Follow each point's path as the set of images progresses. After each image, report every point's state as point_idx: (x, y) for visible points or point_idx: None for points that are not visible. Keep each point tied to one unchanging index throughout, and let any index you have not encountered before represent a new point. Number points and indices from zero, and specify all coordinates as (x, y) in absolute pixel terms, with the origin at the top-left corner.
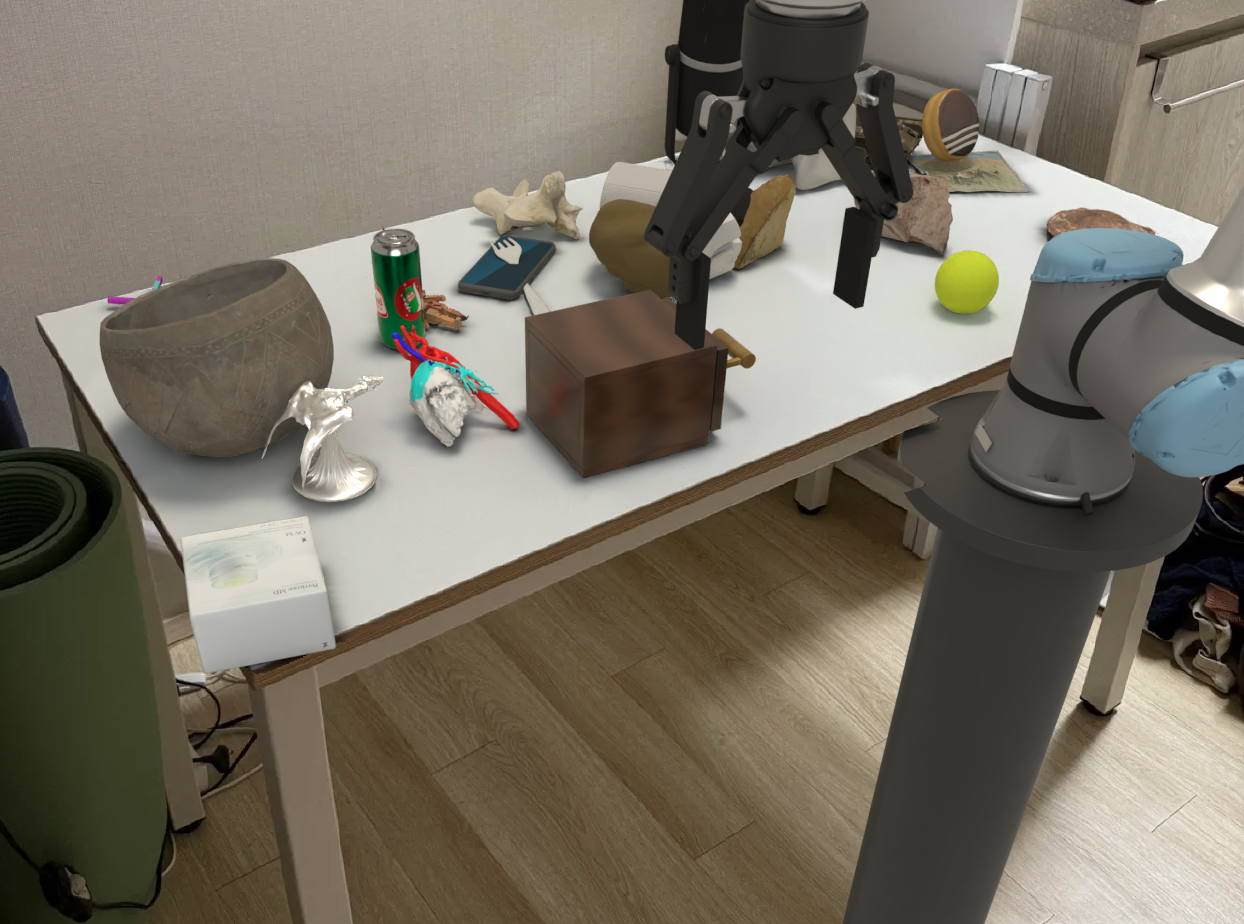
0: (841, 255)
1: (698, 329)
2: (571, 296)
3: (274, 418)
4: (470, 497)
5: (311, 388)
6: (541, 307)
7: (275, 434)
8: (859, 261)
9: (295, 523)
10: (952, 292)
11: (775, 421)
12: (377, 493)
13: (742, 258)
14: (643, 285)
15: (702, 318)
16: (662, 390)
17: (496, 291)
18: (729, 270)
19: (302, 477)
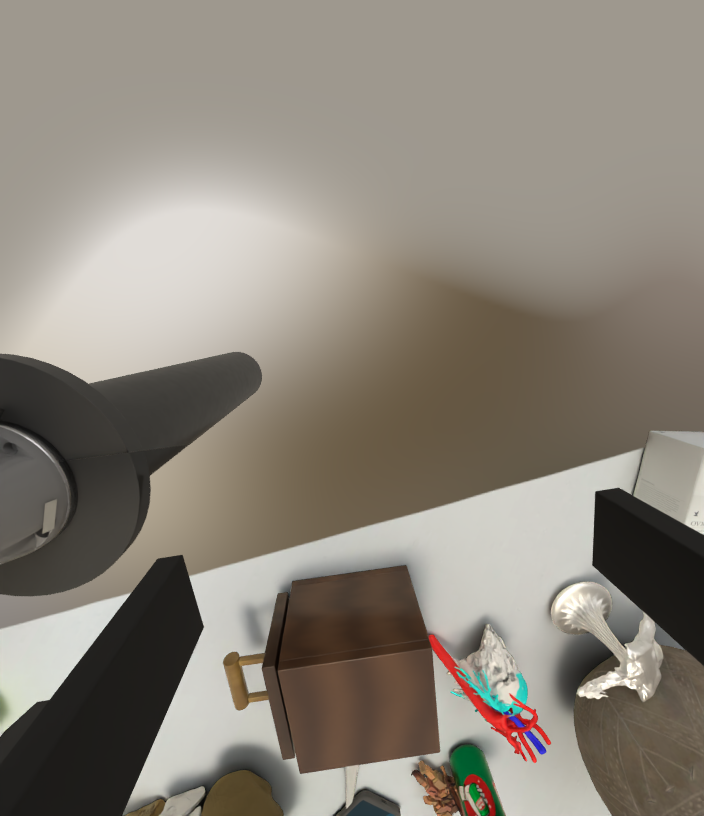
0: (149, 733)
1: (660, 514)
2: (316, 786)
3: None
4: (494, 565)
5: (644, 691)
6: (349, 775)
7: None
8: (111, 682)
9: None
10: None
11: (223, 595)
12: (553, 586)
13: (153, 812)
14: (262, 788)
15: (680, 532)
16: (340, 628)
17: (376, 801)
18: (171, 797)
19: None
